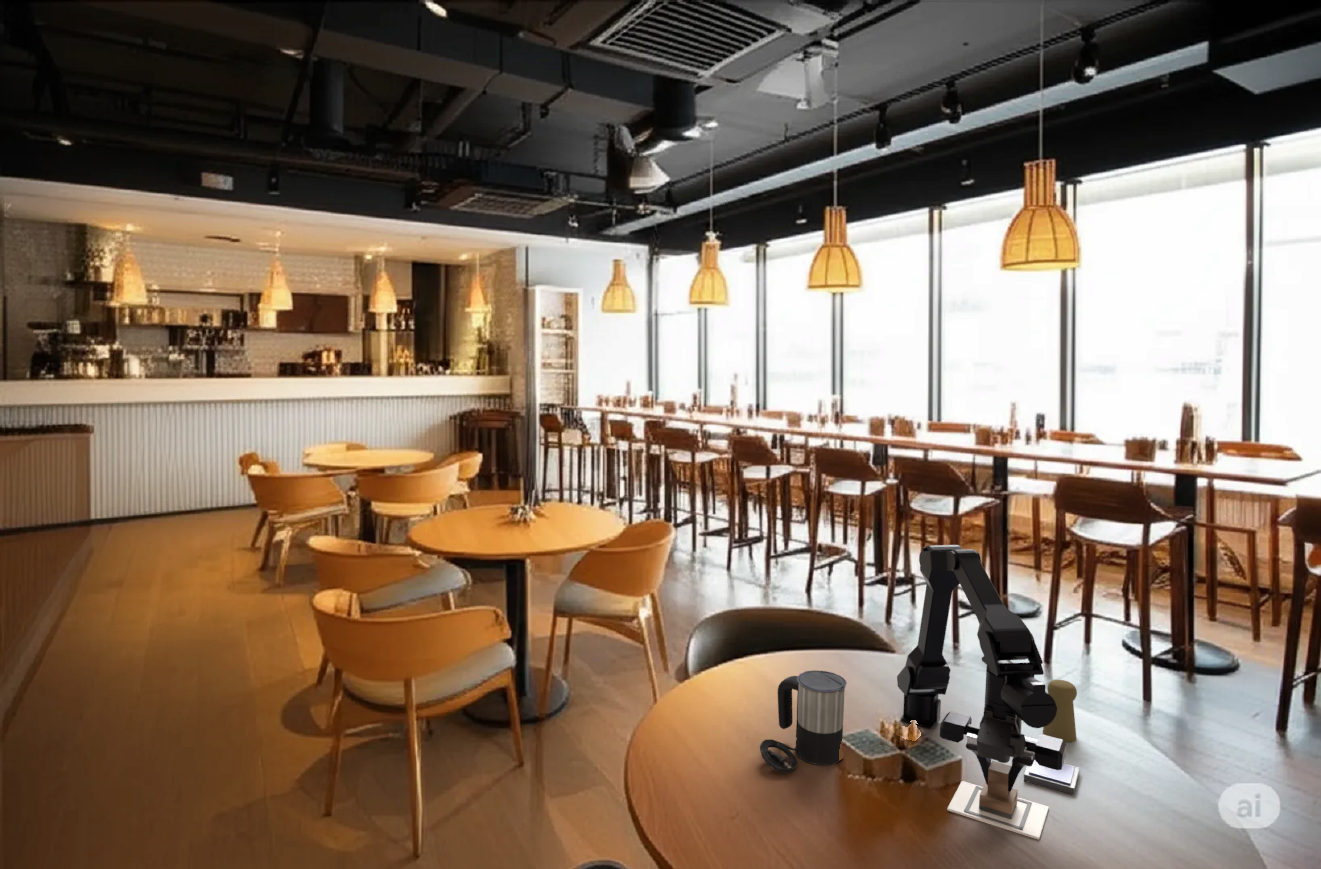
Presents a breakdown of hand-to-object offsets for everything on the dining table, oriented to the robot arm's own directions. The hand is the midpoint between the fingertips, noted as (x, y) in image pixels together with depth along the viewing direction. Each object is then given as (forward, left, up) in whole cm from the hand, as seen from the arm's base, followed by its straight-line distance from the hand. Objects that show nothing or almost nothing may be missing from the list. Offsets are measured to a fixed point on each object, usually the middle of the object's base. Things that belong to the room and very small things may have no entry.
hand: (999, 787), depth 130 cm
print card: (0, 0, -4) cm, 4 cm away
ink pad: (+6, +16, -4) cm, 18 cm away
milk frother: (-34, -3, -4) cm, 34 cm away
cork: (+5, +34, -4) cm, 35 cm away
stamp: (0, 0, -3) cm, 3 cm away
